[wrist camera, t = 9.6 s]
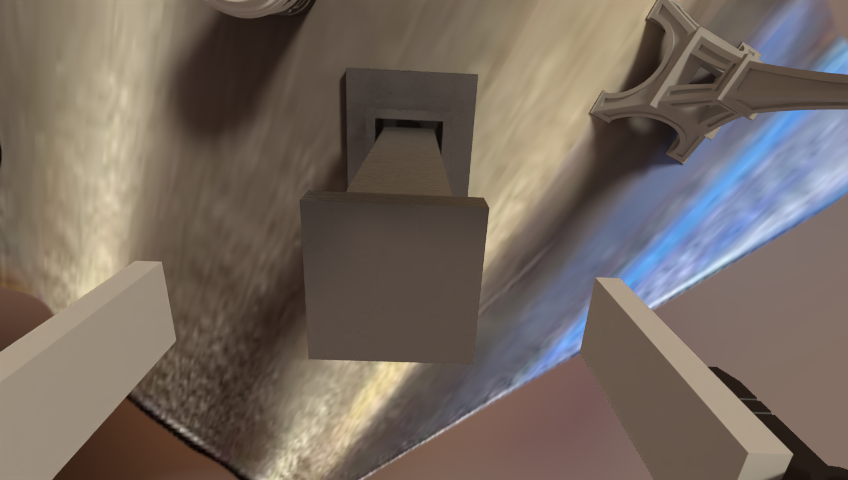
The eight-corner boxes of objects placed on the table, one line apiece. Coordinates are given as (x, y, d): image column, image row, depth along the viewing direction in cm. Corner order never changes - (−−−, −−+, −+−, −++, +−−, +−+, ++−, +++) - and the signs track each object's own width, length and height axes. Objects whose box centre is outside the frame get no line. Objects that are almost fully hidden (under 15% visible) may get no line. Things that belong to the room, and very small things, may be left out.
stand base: (349, 193, 52) (330, 226, 41) (348, 67, 47) (325, 66, 36) (465, 197, 53) (479, 232, 41) (476, 74, 48) (494, 75, 36)
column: (375, 182, 41) (308, 358, 16) (376, 117, 39) (299, 199, 14) (438, 185, 41) (472, 364, 16) (442, 120, 39) (489, 207, 14)
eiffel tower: (660, -8, 45) (1050, -134, 17) (759, 54, 48) (1244, 29, 20) (588, 112, 50) (809, 164, 22) (682, 163, 52) (991, 270, 24)
